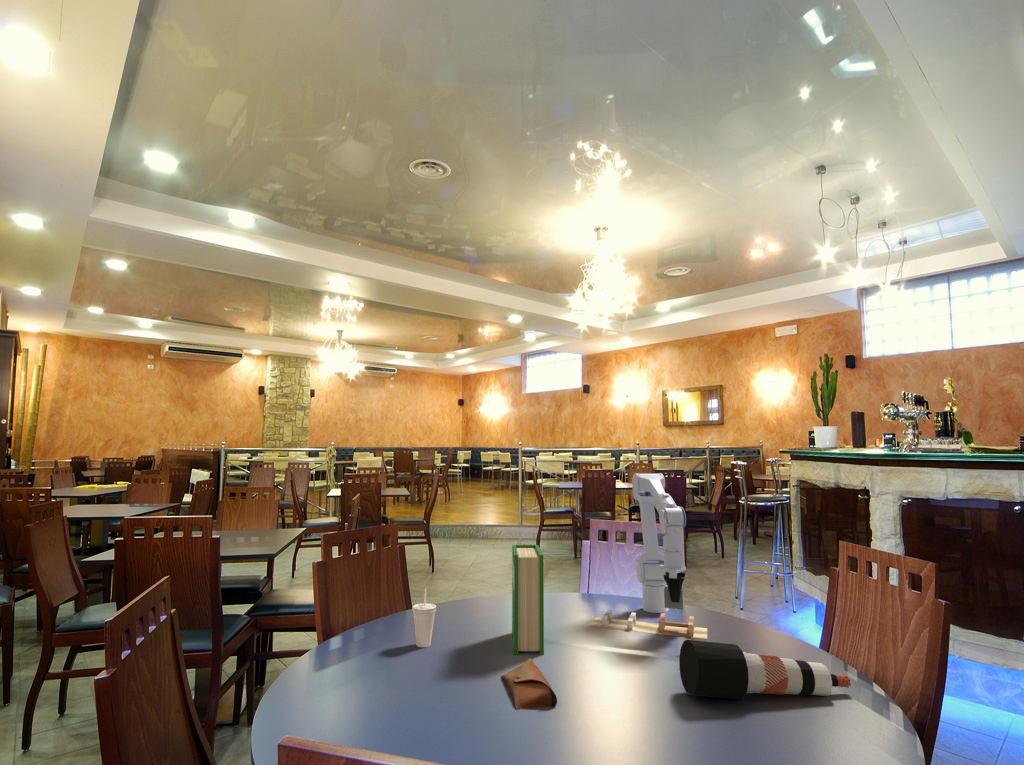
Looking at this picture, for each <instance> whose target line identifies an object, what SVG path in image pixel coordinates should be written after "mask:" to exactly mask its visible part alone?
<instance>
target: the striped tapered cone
mask: <svg viewBox="0 0 1024 765" xmlns="http://www.w3.org/2000/svg"><path fill="white" fill-rule="evenodd" d="M679 650H680V652H679V660H678V663H679V675H680V679H681V683H682V686H683V688H684V691H685V692H686V693H687V694H688V696H699V697H707V698H708V697H711V698H721V699H731V700H732V699H733V700H743V699H744V698H745V697H746V694H750V693H756V694H757V693H758V694H760V695H763V694H764V695H765V694H766V695H768V694H770V695H779V696H781V695H785V694H786V695H795V696H796V695H803V696H819V697H820V696H823V697H827V696H830V695H831V693H832V689H833V687H834V688H835V687H836V688H839V687H840V688H847V689H848V688H849V687H851V685H852V684H851V679H850V678H849V677H848V676H847V675H841V674H839V675H837V674H834V673H830V670H829V669H828V667H827V666H826V665H825V664H824V663H821V662H813V661H806V660H798V659H793V658H784V657H779V656H777V655H768V654H767V655H766V654H759V653H749V652H745V651H743V650H742V649H741V647H739V644H733V643H728V642H727V643H725V642H716V641H708V640H707V641H696V640H691V639H685V640H684V641H683V642H682V644H681V647H680V649H679Z"/></svg>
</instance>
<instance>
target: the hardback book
mask: <svg viewBox="0 0 1024 765" xmlns="http://www.w3.org/2000/svg"><path fill="white" fill-rule="evenodd" d="M511 549H512V551H511V552H512V553H511V554H512V557H511V558H512V559H511V560H512V561H511V562H512V565H511V566H512V567H511V569H512V570H511V572H512V573H511V576H512V577H511V581H512V583H511V585H512V586H511V591H512V592H511V594H512V595H511V596H512V597H511V599H512V600H511V601H512V602H511V603H512V604H511V615H512V616H511V635H512V645H513V654H514V656H518V655H519V652H539V655H541V656H543V655H545V642H544V641H545V640H544V639H545V632H544V631H545V624H544V623H545V622H544V621H545V620H544V619H545V618H544V617H545V616H544V615H545V614H544V612H545V608H544V606H545V605H544V604H545V603H544V600H545V599H544V598H545V597H544V594H545V592H544V591H545V590H544V580H545V579H544V553H543V552H542V550H541V548H540V545H539V544H512V548H511Z"/></svg>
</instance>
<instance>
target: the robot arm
mask: <svg viewBox="0 0 1024 765" xmlns="http://www.w3.org/2000/svg"><path fill="white" fill-rule="evenodd" d="M631 488H632V496H633V499H634V500H636V501H638V504H639V511H640V520H641V521H640V522H641V530H642V542H643V552H642V553H641V554H639V556H638V557H637V559H636V567H635V569H636V570H635V572H636V578H637V580H638V581H639V583H641V585H642V586H641V588H642V592H641V593H642V610H643V611H644V612H647V613H654V614H661V613H663V614H664V613H665V612H669V609H670V608H665V602H664V588H665V587H668V590H669V594H670V599H671V602H678V603H679V601H680V594H681V588H683V587H682V586H683V583H684V581H685V578H686V574H687V573H686V568H687V567H686V564H685V562H686V561H685V541H684V540H685V538H684V537H685V536H684V528H685V527H686V526H687V516H686V511H685V508H684V507H683V506H678V505H677V503H676V502H675V501H674V499H673V497H672V496H671V495H670V493H666V491H665V489H666V479H665V475H663V473H662V472H659V473H637V472H634V474H633V475H632V480H631ZM655 509H656V511H657V513H658V515H659V516H658V518H659V520H658V521H659V525H660V531H661V532H660V533H661V534H662V546H663V547H662V549H663V550H662V552H663V553H661V552H660V547H659V539H658V538H659V536H658V529H657V528H658V527H657V521H656V511H655Z"/></svg>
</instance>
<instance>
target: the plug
mask: <svg viewBox="0 0 1024 765" xmlns="http://www.w3.org/2000/svg"><path fill="white" fill-rule="evenodd" d="M684 597H685V596H684V588H683V587H682V588H681V594H680V601H679V603H678V602H671V599H670V594H669V590H668V586H665V588H664V602H665V608H669V609H675V610H684V607H685V601H684Z"/></svg>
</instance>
